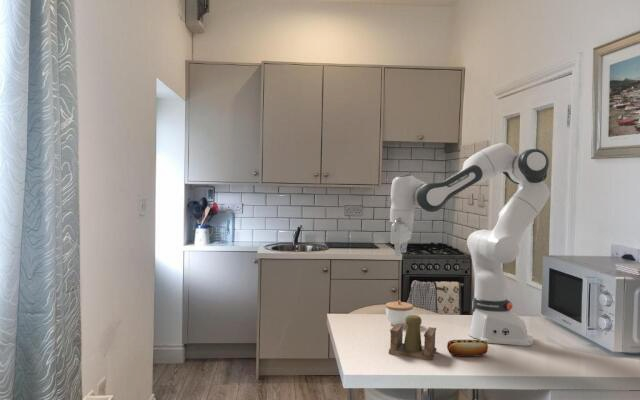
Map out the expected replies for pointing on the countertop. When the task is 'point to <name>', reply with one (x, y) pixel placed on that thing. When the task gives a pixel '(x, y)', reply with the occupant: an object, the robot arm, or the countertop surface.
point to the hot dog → (467, 347)
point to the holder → (397, 349)
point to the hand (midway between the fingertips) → (400, 254)
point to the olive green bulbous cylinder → (413, 334)
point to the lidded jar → (398, 312)
